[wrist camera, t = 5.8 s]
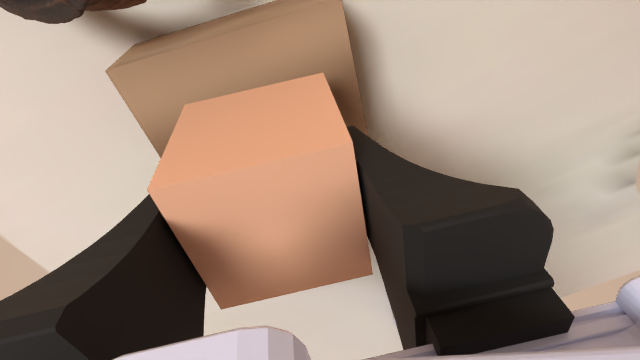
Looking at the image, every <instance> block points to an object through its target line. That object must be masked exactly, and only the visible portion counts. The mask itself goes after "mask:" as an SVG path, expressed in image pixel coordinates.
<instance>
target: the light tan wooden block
mask: <svg viewBox="0 0 640 360" xmlns="http://www.w3.org/2000/svg"><path fill="white" fill-rule="evenodd" d="M106 73H107V75H108V76H109V78H110V79H111V81H112V82H113V84H114V86H115V87H116V89H117V90H118V92H119V93H120V95H121V96H122V98H123V100H124V101H125V103H126V104H127V106H128V107H129V109H130V111H131V112H132V114H133V115H134V117H135V118H136V120H137V122H138V123H139V125H140V126H141V128H142V129H143V131H144V132H145V134H146V136H147V137H148V139H149V140H150V142H151V143H152V145H153V147H154V148H155V150H156V151H157V153H158V154H159V156H160V157H162V155H163V153H164V151H165V148H166V146H167V144H168V142H169V139H170V137H171V135H172V133H173V130H174V128H175V126H176V123H177V121H178V119H179V117H180V114H181V112H182V110H183V108H184V105H186V104H190V103H194V102H199V101H203V100H207V99H211V98H216V97H220V96H224V95H229V94H233V93H237V92H242V91H246V90H250V89H254V88H259V87H263V86H267V85H272V84H276V83H280V82H284V81H289V80H293V79H297V78H302V77H306V76H310V75H315V74H319V73H324V76H325V78H326V80H327V83H328V85H329V87H330V90H331V92H332V94H333V97H334V99H335V102H336V104H337V106H338V109H339V111H340V113H341V116H342V118H343V120H344V123H345V125H346V127H349V126H355V127H356V128H358V129H359V130H360V131H361V132H363V133H364V134H365V135H367V136H368V132H367V127H366V122H365V117H364V112H363V107H362V102H361V97H360V92H359V86H358V81H357V76H356V71H355V66H354V61H353V56H352V51H351V46H350V41H349V35H348V30H347V25H346V20H345V15H344V10H343V5H342V0H276V1H273V2H269V3H266V4H263V5H260V6H257V7H253V8H250V9H247V10H244V11H240V12H237V13H234V14H231V15H228V16H224V17H221V18H218V19H215V20H212V21H208V22H205V23H202V24H199V25H196V26H192V27H189V28H186V29H183V30H179V31H176V32H173V33H170V34H167V35H163V36H160V37H157V38H154V39H151V40H147V41H144V42H141V43H138V44H135V45H134V46H132V47H131V48H130V49H129V50H128V51H127V52H126V53H125V54H124V55H122V56H121V57H120V58H119V59H118V60H117V61H116V62H115V63H113V64H112V65H111V66H110V67H109V68H108V69H107V70H106Z"/></svg>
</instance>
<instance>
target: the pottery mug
mask: <svg viewBox="0 0 640 360" xmlns="http://www.w3.org/2000/svg"><path fill="white" fill-rule="evenodd" d="M146 1H147V0H0V7H2V8H3V9H5V10H6V11H8V12H10V13H12V14H15V15H18V16H20V17H22V18H24V19H28V20H37V21H40V22H44V23H48V24H59V23H66V22H70V21H72V20H73V19H75V18H78V17H80V16H82V15H83V13H84V11H85V10H86V11H102V10H117V9H125V8H129V7H132V6H136V5H139V4H142V3H145V2H146Z"/></svg>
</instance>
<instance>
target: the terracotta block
mask: <svg viewBox="0 0 640 360" xmlns="http://www.w3.org/2000/svg"><path fill="white" fill-rule="evenodd" d="M147 191H148V192H149V194H150V196H151V197H152V199H153V201H154V202H155V204H156V205H157V207H158V209H159V210H160V212H161V213H162V215H163V217H164V218H165V220H166V221H167V223H168V225H169V226H170V228H171V230H172V231H173V233H174V234H175V236H176V238H177V239H178V241H179V242H180V244H181V246H182V247H183V249H184V250H185V252H186V254H187V255H188V257H189V259H190V260H191V262H192V263H193V265H194V267H195V268H196V270H197V271H198V273H199V275H200V276H201V278H202V279H203V281H204V283H205V284H206V286H207V288H208V289H209V291H210V292H211V294H212V296H213V297H214V299H215V300H216V302H217V304H218V305H219V307H220V308H221V309H225V308H229V307H234V306H238V305H242V304H247V303H251V302H255V301H260V300H264V299H268V298H273V297H277V296H281V295H286V294H290V293H294V292H299V291H303V290H307V289H311V288H316V287H320V286H324V285H329V284H333V283H337V282H342V281H346V280H350V279H355V278H359V277H363V276H368V275H372V274H373V273H372V267H371V260H370V253H369V247H368V240H367V233H366V227H365V220H364V214H363V207H362V200H361V194H360V187H359V180H358V174H357V167H356V160H355V154H354V147H353V142H352V139H351V137H350V135H349V132H348V130H347V128H346V125H345V123H344V120H343V118H342V116H341V113H340V111H339V109H338V106H337V104H336V102H335V99H334V97H333V94H332V92H331V90H330V87H329V85H328V83H327V80H326V78H325V76H324V73H319V74H315V75H310V76H306V77H302V78H297V79H293V80H289V81H284V82H280V83H276V84H272V85H267V86H263V87H259V88H254V89H250V90H246V91H242V92H237V93H233V94H229V95H224V96H220V97H216V98H211V99H207V100H203V101H199V102H194V103H190V104H186V105H184V108H183V110H182V112H181V114H180V117H179V119H178V121H177V123H176V126H175V128H174V130H173V133H172V135H171V137H170V139H169V142H168V144H167V146H166V148H165V151H164V153H163V155H162V157H161V160H160V162H159V164H158V166H157V169H156V171H155V173H154V175H153V178H152V180H151V182H150V184H149V187H148V189H147Z"/></svg>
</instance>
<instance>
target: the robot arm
mask: <svg viewBox="0 0 640 360" xmlns="http://www.w3.org/2000/svg"><path fill="white" fill-rule="evenodd" d="M346 128H347V130H348V132H349V135H350V137H351V139H352V142H353V147H354V154H355V160H356V167H357V174H358V180H359V187H360V194H361V200H362V207H363V214H364V220H365V227H366V233H367V237H368V239H369V241H370V243H371V246H372V248H373V251H374V254H375V256H376V259H377V263H378V266H379V269H380V272H381V275H382V279H383V282H384V285H385V289H386V292H387V295H388V298H389V302H390V305H391V308H392V312H393V318H394V323H395V325H396V326H397V329H398V332H399V335H400V339H401V342H402V346H403V349H404V350H402V351H398V352H394V353H389V354H385V355H381V356H376V357H372V358H368V359H363V360H640V276H638V277H635V278H633V279H630V280H629V281H627V282H626V283H624V284H623V286H622V287H621V288H620V290H619V291H618V294H617V297H616V301H614V302H610V303H606V304H602V305H597V306H592V307H588V308H584V309H580V310H575V311H570V310H569V309H568V308H567V306H566V305H565V304H564V303H563V301H562V300H561V299H560V298H559V296H558V295H557V294H556V293H555V291H554V290H553V289H552V288H551V287H553V286H554V280H553V278H552V277H551V276H550V275H549V274H548V272H547V271H546V270H545V269H544V265H545V262H546V259H547V256H548V252H549V249H550V246H551V242H552V238H553V230H554V229H553V226H552V223H551V220H550V219H549V218H548V217H547V216H546V215H545V214H544V213H543V212H542V211H541V210H540V209H539V207H538V206H537V205H536V204H535V203H534V202H533V201H532V200H531V199H530V198H528V197H527V196H526V195H525V194H524V193H523V192H522V191H520V190H519V189H516V188H508V187H501V186H493V185H486V184H480V183H475V182H471V181H466V180H461V179H458V178H454V177H450V176H447V175H443V174H440V173H437V172H434V171H431V170H428V169H426V168H423V167H421V166H418V165H416V164H414V163H411V162H409V161H407V160H405V159H403V158H401V157H399V156H397V155H395V154H394V153H392V152H390V151H388V150H387V149H385V148H384V147H382V146H381V145H379V144H378V143H376V142H375V141H373V140H372V139H371V138H369V137H368V136H367V135H365V134H364V133H363V132H361V131H360V130H359V129H358V128H356V127H355V126H349V127H346ZM205 294H206V284H205V283H204V281H203V279H202V278H201V276H200V275H199V273H198V271H197V270H196V268H195V267H194V265H193V263H192V262H191V260H190V259H189V257H188V255H187V254H186V252H185V250H184V249H183V247H182V246H181V244H180V242H179V241H178V239H177V238H176V236H175V234H174V233H173V231H172V230H171V228H170V226H169V225H168V223H167V221H166V220H165V218H164V217H163V215H162V213H161V212H160V210H159V209H158V207H157V205H156V204H155V202H154V201H153V199H152V197H151V196H150V194H149V195H148V196H147V197H146V198H145V199H144V200H143V201H142V202H141V203H140V204H139V205H138V206H137V207H136V208H134V209H133V210H132V211H131V212H130V213H129V214H128V215H127V216H126V217H125V218H124V219H123V220H122V221H121V222H119V223H118V224H117V225H116V226H115V227H114V228H112V229H111V230H110V231H109V232H108V233H106V234H105V235H104V236H102V237H101V238H100V239H99V240H97V241H96V242H95V243H94V244H92V245H91V246H90V247H88V248H87V249H85V250H84V251H82V252H81V253H79V254H78V255H76V256H75V257H74V258H72V259H71V260H69V261H68V262H66V263H65V264H63V265H62V266H60V267H59V268H57V269H56V270H54V271H52V272H51V273H49V274H48V275H46V276H44V277H43V278H41V279H39V280H38V281H36V282H34V283H32V284H31V285H29V286H27V287H25V288H24V289H22V290H20V291H18V292H16V293H15V294H13V295H11V296H9V297H7V298H5V299H3V300H1V301H0V360H311V359H310V356H309V354H308V351H307V349H306V347H305V345H304V344H303V343H302V342H301V341H300V340H299V339H298V338H296V337H295V336H294V335H293V334H292V333H290V332H289V331H286V330H282V329H278V328H273V327H269V326H257V327H244V328H237V329H233V330H229V331H224V332H220V333H216V334H211V335H207V336H203V334H204V309H205Z"/></svg>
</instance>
